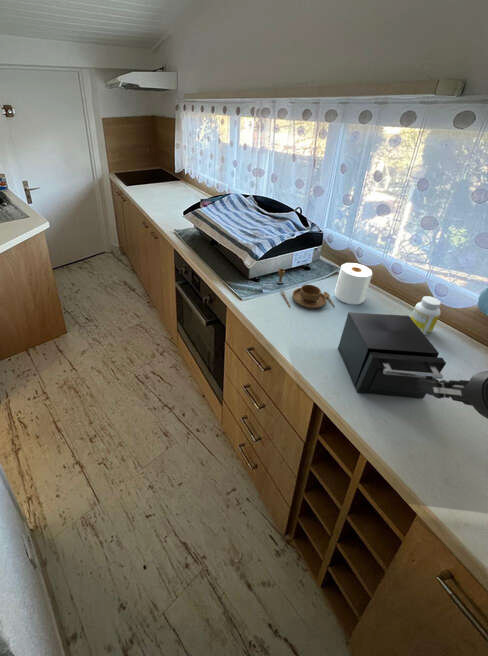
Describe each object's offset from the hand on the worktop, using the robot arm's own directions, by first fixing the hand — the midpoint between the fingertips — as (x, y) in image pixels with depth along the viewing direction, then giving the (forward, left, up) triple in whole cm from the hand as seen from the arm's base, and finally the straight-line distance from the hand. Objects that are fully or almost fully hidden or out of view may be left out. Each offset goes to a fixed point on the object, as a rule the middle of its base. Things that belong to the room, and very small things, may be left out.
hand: (415, 383), depth 68 cm
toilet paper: (+43, -25, -11) cm, 51 cm away
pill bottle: (+21, -33, -11) cm, 40 cm away
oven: (+13, -6, -11) cm, 18 cm away
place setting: (+50, -10, -11) cm, 52 cm away
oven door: (+4, -2, -11) cm, 12 cm away
